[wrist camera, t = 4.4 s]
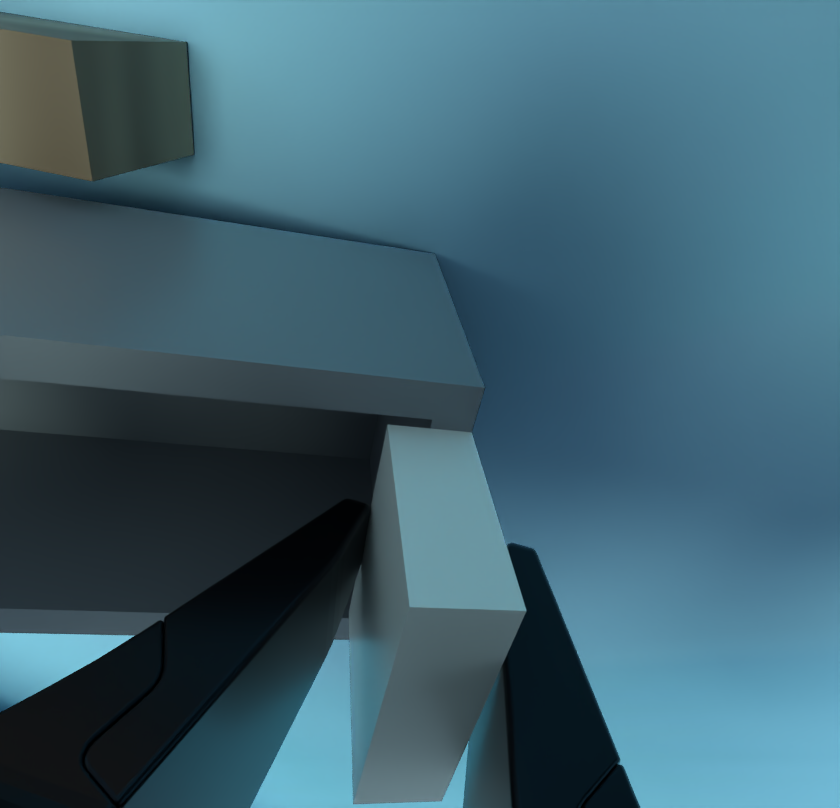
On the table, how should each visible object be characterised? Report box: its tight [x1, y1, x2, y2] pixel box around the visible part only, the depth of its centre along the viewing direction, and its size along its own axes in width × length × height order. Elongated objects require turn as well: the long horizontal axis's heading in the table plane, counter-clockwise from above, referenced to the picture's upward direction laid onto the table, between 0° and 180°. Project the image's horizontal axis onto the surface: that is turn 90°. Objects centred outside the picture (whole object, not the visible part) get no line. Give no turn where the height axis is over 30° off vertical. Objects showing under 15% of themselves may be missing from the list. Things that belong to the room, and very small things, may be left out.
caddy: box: [0, 187, 526, 804], centre depth 9 cm, size 12×6×8 cm, turn 79°
